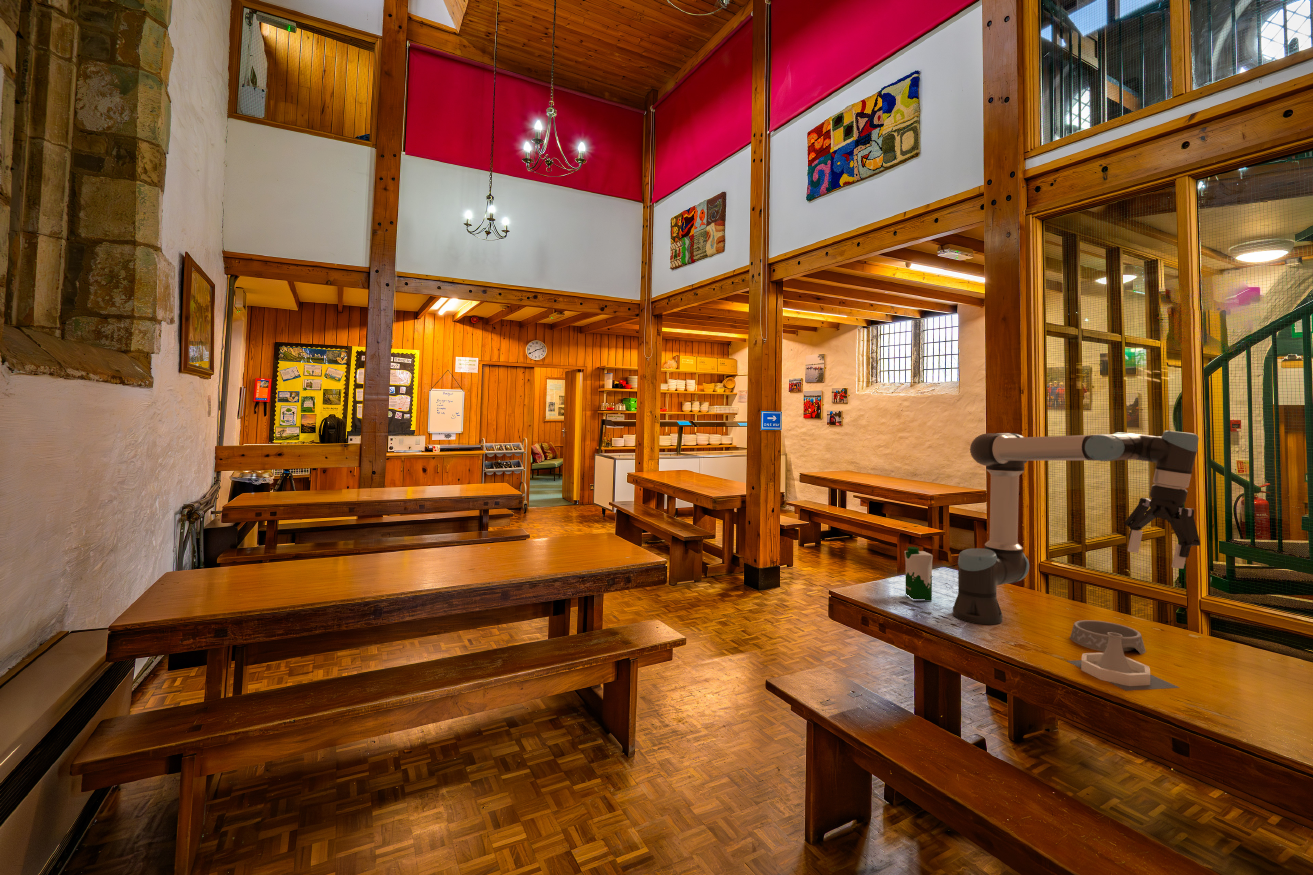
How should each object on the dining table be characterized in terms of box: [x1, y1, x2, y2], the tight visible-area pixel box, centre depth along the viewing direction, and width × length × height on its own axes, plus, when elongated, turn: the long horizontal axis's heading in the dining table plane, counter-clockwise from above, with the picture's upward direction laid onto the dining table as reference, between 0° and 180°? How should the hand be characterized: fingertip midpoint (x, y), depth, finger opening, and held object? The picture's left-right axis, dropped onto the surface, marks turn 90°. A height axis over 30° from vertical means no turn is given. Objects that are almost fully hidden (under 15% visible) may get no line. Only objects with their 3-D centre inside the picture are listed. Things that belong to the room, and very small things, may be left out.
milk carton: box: [904, 546, 934, 601], centre depth 217 cm, size 9×9×20 cm
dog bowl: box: [1069, 619, 1147, 655], centre depth 170 cm, size 17×18×5 cm
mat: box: [1066, 659, 1180, 692], centre depth 149 cm, size 18×15×1 cm
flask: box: [1098, 632, 1132, 673], centre depth 149 cm, size 7×7×10 cm
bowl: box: [1080, 652, 1151, 686], centre depth 149 cm, size 14×14×3 cm
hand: (1154, 559), depth 158 cm, fingers open, 13 cm apart
